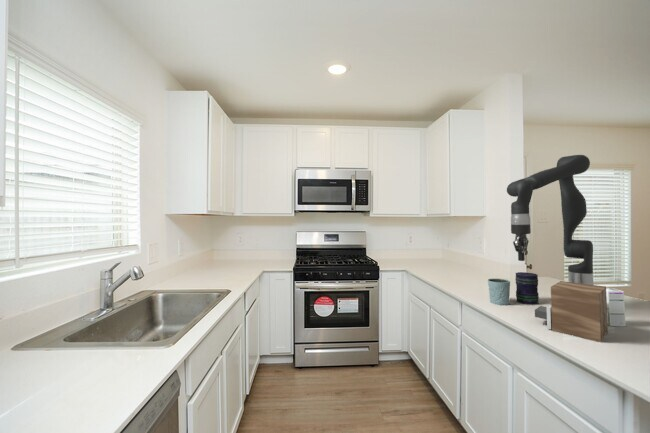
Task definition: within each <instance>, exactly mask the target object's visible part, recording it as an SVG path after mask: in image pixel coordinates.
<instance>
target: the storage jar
mask: <svg viewBox="0 0 650 433" xmlns="http://www.w3.org/2000/svg"><path fill="white" fill-rule="evenodd" d="M538 276H539V274H537V273H533V272H522V271H521V272H515V286H516V289H515V298H516V302H517V303H519V304H522V305H528V306H529V305H530V306H535V305H536V306H537V305H539V299H540V297H539V295H540V294H539V292H538V286H539V277H538Z"/></svg>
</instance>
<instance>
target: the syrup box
mask: <svg viewBox="0 0 650 433" xmlns="http://www.w3.org/2000/svg"><path fill="white" fill-rule="evenodd" d="M606 298H607V326H610V327H626V325H627V324H626V311H625V310H626V308H625V306H626V305H625V291H623V290H620V289H617V288H613V287H606Z"/></svg>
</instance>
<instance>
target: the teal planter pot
mask: <svg viewBox="0 0 650 433" xmlns="http://www.w3.org/2000/svg"><path fill="white" fill-rule="evenodd" d="M487 283H488V291H489V292H488V293H489V299H490V300H489V301H490V303H492V304H493V305H497V306H509V305H510V292H511V291H510V290H511V289H510V288H511V280H509V279H505V278H488V279H487Z"/></svg>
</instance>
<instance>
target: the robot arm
mask: <svg viewBox="0 0 650 433" xmlns="http://www.w3.org/2000/svg"><path fill="white" fill-rule="evenodd" d="M590 165H591V161H590V158H589V157H588V156H587V155H584V154H573V155H567V156H561V157H560V158H559V159H558V160H557V162H556V167H552V168H549V169H544V170H541V171H538V172H536V173H533V174H531V175H529V176H527V177H524V178H521V179H518V180H515V181H512V182H511V183H509V184H508V185H507V187H506V192H507V194H508V195H509V196H510V197H516V200H515V201H513V202H511V206H510V215H511V216H510V233H511V234H513V235H515V236H514V241H512V244H513V246H514V250H515V252H516V253H517V258H518V261H520V262H525V259H526V256H525V255H526V254H525V253H526V252H527V249H528V245H529V242H530V241H529V239H528V237H527V235H530V234H531V232H532V231H531V216H530V202H531V201H532V196H533V192H534V191H535V190H539V189H540V188H543V187H545V186H547V185H550V184H553V183H554V182H556V181H558V183H559V190H560V192H559V193H560V200H561V214H562V215H561V216H562V217H561V218H562V226H563V254H564V256H565V257H566V258H569V259H582V260H583V261H581V262H579V263H575V264H570V265H568V267H567V270H568V271H567V272H568V275H567V276H568V282H573V283H581V284H589V285H594V263H593V262H594V258H593V257H594V244H593V241H591V240H587V239H586V240H585V239H573V235H574V233H575V231H576V229H577V228H578V227H579V225H580V224H581V223H582V222H583V221H584V219H585V218H586V216H587V210H588V209H587V202H586V201H587V200H586V198H585V197H584V195H583V193H582V192H581V191H580V190H579V189H578V188H577V186H576V184H575V181H574V176H576V175H581V174H583V173H586V171H588V170H589V168H590Z"/></svg>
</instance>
